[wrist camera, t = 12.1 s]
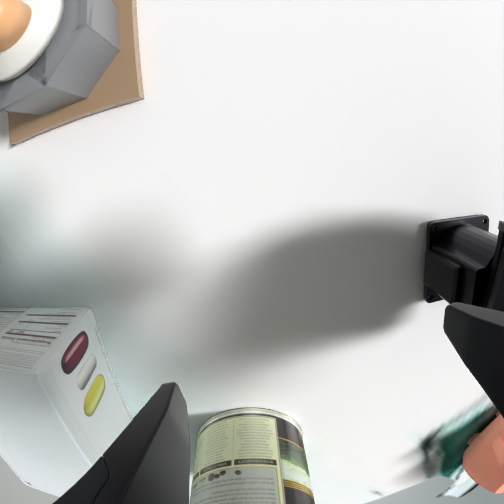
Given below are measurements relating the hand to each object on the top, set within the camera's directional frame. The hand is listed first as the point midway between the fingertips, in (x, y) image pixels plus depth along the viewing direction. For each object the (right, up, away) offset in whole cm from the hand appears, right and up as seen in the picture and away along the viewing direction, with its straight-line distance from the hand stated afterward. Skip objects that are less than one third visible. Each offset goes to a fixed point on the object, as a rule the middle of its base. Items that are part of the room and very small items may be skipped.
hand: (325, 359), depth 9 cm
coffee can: (-2, -15, +18) cm, 23 cm away
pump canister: (-15, +17, +7) cm, 24 cm away
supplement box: (-20, -9, +16) cm, 27 cm away
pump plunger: (-15, +17, +6) cm, 24 cm away
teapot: (+34, -23, +21) cm, 46 cm away
